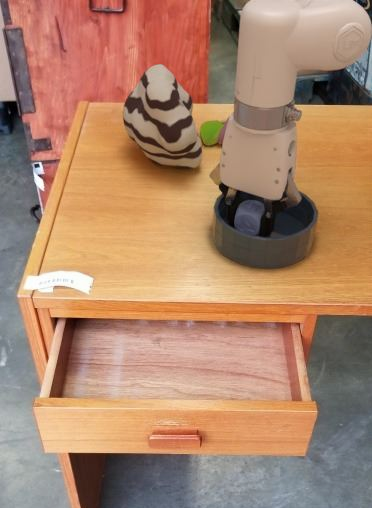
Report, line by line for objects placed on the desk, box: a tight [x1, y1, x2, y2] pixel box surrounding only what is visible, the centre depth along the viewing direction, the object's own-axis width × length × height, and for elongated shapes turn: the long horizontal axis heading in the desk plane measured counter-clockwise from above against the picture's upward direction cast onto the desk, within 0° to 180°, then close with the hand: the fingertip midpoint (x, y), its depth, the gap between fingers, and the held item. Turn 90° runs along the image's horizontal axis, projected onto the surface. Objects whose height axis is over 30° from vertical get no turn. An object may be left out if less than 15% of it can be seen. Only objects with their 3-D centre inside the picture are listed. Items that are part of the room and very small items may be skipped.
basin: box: [212, 190, 319, 270], centre depth 89 cm, size 15×15×5 cm
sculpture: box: [122, 63, 203, 171], centre depth 101 cm, size 22×12×15 cm, turn 14°
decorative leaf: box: [200, 120, 225, 147], centre depth 112 cm, size 8×9×1 cm
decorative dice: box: [234, 200, 265, 236], centre depth 89 cm, size 4×4×4 cm
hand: (249, 229), depth 91 cm, fingers closed on decorative dice, 4 cm apart
